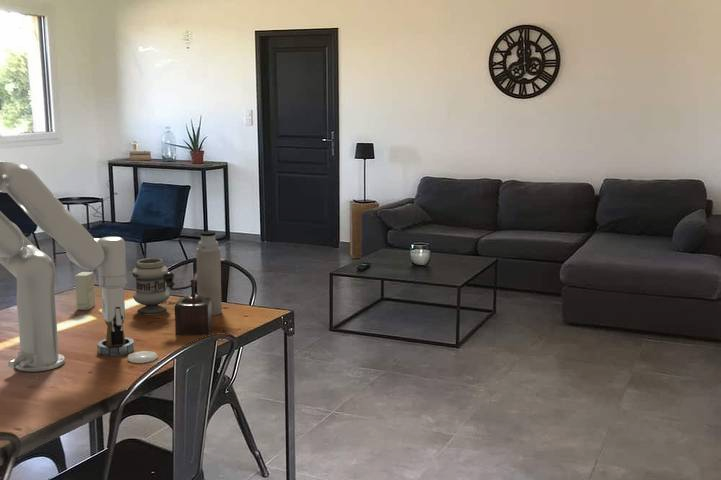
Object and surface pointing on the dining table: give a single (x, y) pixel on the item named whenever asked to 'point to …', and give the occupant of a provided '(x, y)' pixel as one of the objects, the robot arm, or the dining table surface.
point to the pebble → (142, 357)
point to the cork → (108, 338)
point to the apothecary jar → (150, 286)
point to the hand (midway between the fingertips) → (115, 341)
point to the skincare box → (85, 290)
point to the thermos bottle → (209, 270)
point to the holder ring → (115, 348)
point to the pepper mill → (190, 310)
